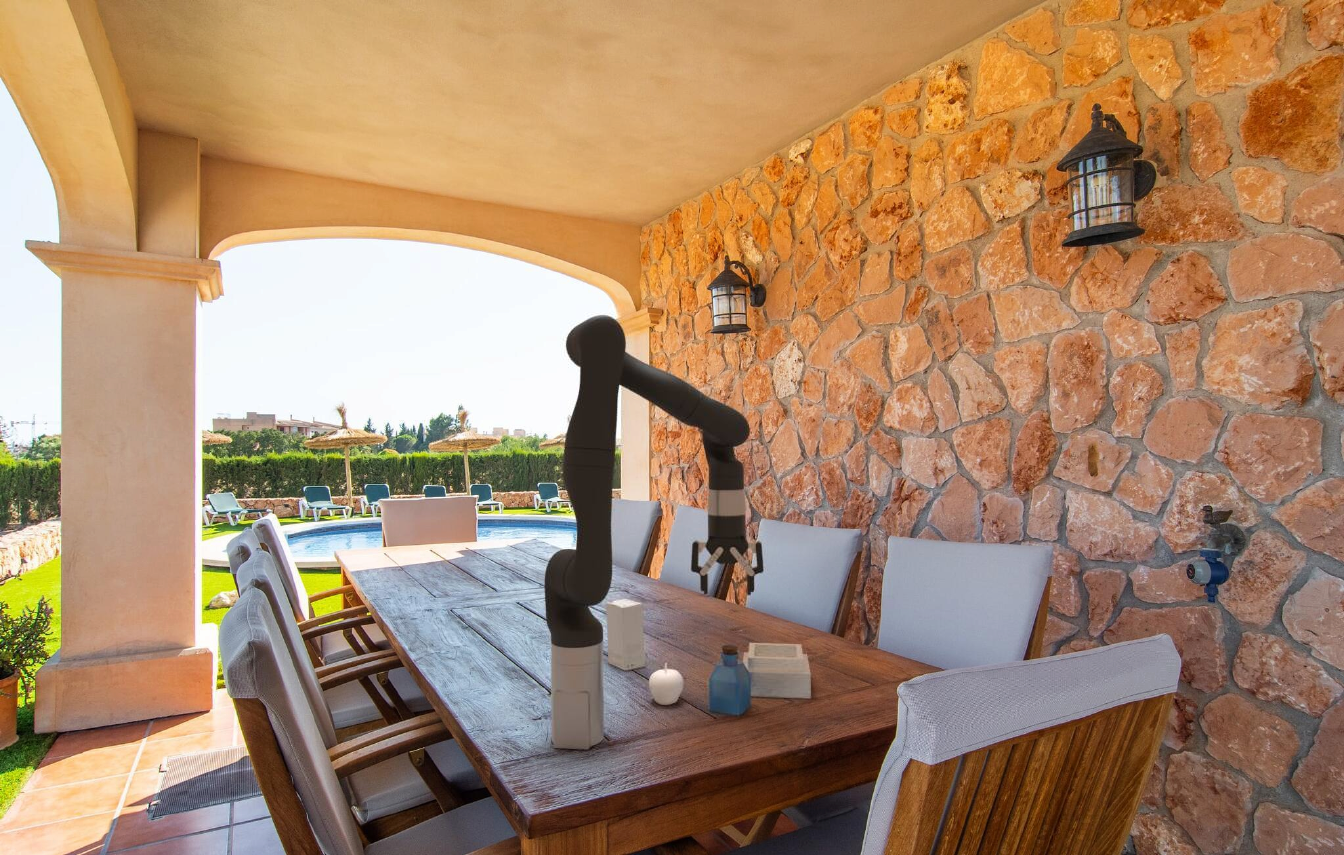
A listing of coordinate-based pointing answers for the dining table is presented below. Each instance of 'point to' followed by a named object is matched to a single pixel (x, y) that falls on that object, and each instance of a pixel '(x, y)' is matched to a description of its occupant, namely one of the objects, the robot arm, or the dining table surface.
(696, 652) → the dining table surface
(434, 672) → the dining table surface
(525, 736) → the dining table surface
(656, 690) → the plain white apple
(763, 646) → the white square stand
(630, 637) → the skincare box
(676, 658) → the dining table surface
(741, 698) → the perfume bottle
